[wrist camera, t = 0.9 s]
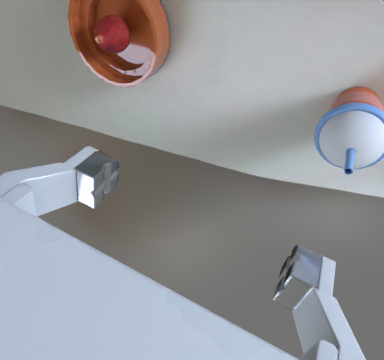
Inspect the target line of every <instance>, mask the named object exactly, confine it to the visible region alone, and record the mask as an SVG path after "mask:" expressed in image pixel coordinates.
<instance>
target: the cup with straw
mask: <svg viewBox="0 0 384 360" xmlns="http://www.w3.org/2000/svg"><path fill="white" fill-rule="evenodd" d="M314 138H315V145H316V148H317V150H318V152H319V154H320V155H321V156H322V157H323V158H324V159H325V160H326V161H327V162H329V163H330V164H332V165H334V166H337V167H340V168H344V173H345V174H347V175H350V174H352V173H353V169H362V168H366V167H369V166H372V165H374V164H376V163H377V162H379V161H380V160H382V159H383V158H384V108H383V105H382V103H381V102H380V100H379V98H378V96H377V95H376V94H375V93H374V92H373V91H372V90H370V89H368V88H364V87H353V88H350V89H347V90H345V91H344V92H342V93H341V94H340V95H339V96H338V97H337V99H336V100H335V101H334V102H333V104H332V105H331V107H330V109H329V111H328V112H327V113H326V114H325V115H324V116H323V117H322V118H321V120H320V121H319V123H318V125H317V127H316V130H315V136H314Z"/></svg>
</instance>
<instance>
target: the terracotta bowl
mask: <svg viewBox="0 0 384 360" xmlns="http://www.w3.org/2000/svg"><path fill="white" fill-rule="evenodd" d="M107 15H117V16H118V17H120V18H122V19H123V20H124V21H125V22H126V23H127V25H128V27H129V29H130V35H131V37H130V43H129V46H128V47H127V48H126V49H125V50H124V51H123V52H120V53H116V54H113V53H108V52H105V51H104V50H102V49H101V48H100V47H99V46H98V44H97V43H96V41H95V37H94V30H95V26H96V24H97V23H98V21H99V20H100V19H101V18H102V17H105V16H107ZM68 19H69V26H70V33H71V36H72V39H73V41H74V44H75V47H76V49H77V51H78V53H79V54H80V56H81V58H82V59H83V61H84V63H85V64H86V65H87V66H88V67H89V68H90V69H91V70H92V71H93V72H94V74H95V75H97V76H98V77H100V78H101V79H103V80H104V81H106V82H107V83H110V84H113V85H116V86H120V87H129V86H135V85H137V84H139V83H141V82H143V81H144V80H146V79H148V78H149V77H151V76H152V75H154V74H155V73H156V72H157V71H158V70H159V69H160V67H161V66H162V65H163V64H164V62H165V59H166V56H167V53H168V50H169V39H170V31H169V26H168V21H167V17H166V13H165V11H164V9H163V7H162V5H161V3H160V1H159V0H70V3H69V12H68Z"/></svg>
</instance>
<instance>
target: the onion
mask: <svg viewBox="0 0 384 360" xmlns="http://www.w3.org/2000/svg"><path fill="white" fill-rule="evenodd" d="M94 37H95V41H96V43H97V44H98V46H99V47H100V48H101V49H102V50H104V51H105V52H108V53H113V54H116V53H120V52H123V51H124V50H125V49H126V48H127V47H128V46H129V43H130V37H131V35H130V29H129V27H128V25H127V23H126V22H125V21H124V20H123V19H122V18H120V17H118V16H117V15H107V16H105V17H102V18H101V19H100V20H99V21H98V23H97V24H96V26H95V30H94Z"/></svg>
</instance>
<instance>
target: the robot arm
mask: <svg viewBox="0 0 384 360" xmlns="http://www.w3.org/2000/svg"><path fill="white" fill-rule="evenodd" d="M118 168H119V161H118V160H117V159H115V158H113V157H111V156H109V155H107V154H105V153H103V152H101V151H99V150H97V149H95V148H93V147H90V146H87V147H85V148H84V149H83V150H81V151H80V152H78V153H77V154H75V155H74V156H73V157H71V158H70V159H69V160H67V161H66V162H65V163H63V164H62V163H54V164H49V165H43V166H37V167H32V168H26V169H21V170H16V171H10V172H5V173H4V174H2V175H0V360H366V359H365V357H364V356H363V353H362V351H361V349H360V347H359V345H358V343H357V341H356V339H355V337H354V335H353V333H352V331H351V329H350V327H349V324H348V322H347V320H346V318H345V316H344V314H343V312H342V310H341V308H340V306H339V304H338V302H337V300H336V298H334V297H332V293H333V284H334V275H335V267H336V263H335V261H333V260H330V259H328V258H326V257H324V256H321V255H319V254H317V253H315V252H313V251H311V250H309V249H306V248H304V247H302V246H300V245H296V246H295V247H294V249H293V251H292V254H291V256H288V258H287V259H286V261H285V263H284V265H283V267H282V269H281V272H280V275H279V279H280V282H279V283H278V285H277V286H276V289H275V293H274V296H273V301H275V302H277V303H278V304H280V305H282V306H284V307H286V308H287V309H290V310H291V311H293V312H292V313H293V316H294V320H295V324H296V327H297V331H298V335H299V338H300V342H301V346H302V349H303V353H304V354H303V355H302V356H301V357H300V358H299V359H297V358H295V357H294V356H291V355H290V354H288V353H286V352H284V351H282V350H281V349H279V348H277V347H275V346H273V345H271V344H270V343H268V342H266V341H264V340H262V339H260V338H258V337H257V336H255V335H253V334H251V333H249V332H247V331H246V330H244V329H242V328H240V327H238V326H236V325H235V324H233V323H231V322H229V321H227V320H225V319H223V318H222V317H220V316H218V315H216V314H214V313H212V312H211V311H209V310H207V309H205V308H203V307H201V306H199V305H198V304H196V303H194V302H192V301H190V300H188V299H187V298H185V297H183V296H181V295H179V294H177V293H175V292H174V291H171V290H170V289H168V288H166V287H164V286H163V285H161V284H159V283H157V282H155V281H153V280H152V279H150V278H148V277H146V276H144V275H142V274H140V273H139V272H137V271H135V270H133V269H131V268H129V267H128V266H126V265H124V264H122V263H120V262H118V261H117V260H114V259H113V258H111V257H109V256H107V255H106V254H104V253H102V252H100V251H98V250H96V249H94V248H93V247H91V246H89V245H87V244H85V243H83V242H82V241H80V240H78V239H76V238H74V237H72V236H70V235H69V234H67V233H65V232H63V231H61V230H59V229H58V228H56V227H54V226H52V225H50V224H48V223H46V222H44V221H43V220H41V219H39V218H38V216H39V215H42V214H45V213H48V212H50V211H53V210H56V209H59V208H61V207H64V206H67V205H70V204H72V203H76V202H78V201H80V202H81V203H83V204H86V205H88V206H90V207H92V208H95V207H96V206H97V205H98V204H99V203H100V202H101V201H102V200H103V199H104V195H105V194H109V193H111V192H112V191H113V189H114V188H115V186H116V184H117V182H118V177H119V174H118V173H117V171H116V170H117V169H118Z"/></svg>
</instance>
